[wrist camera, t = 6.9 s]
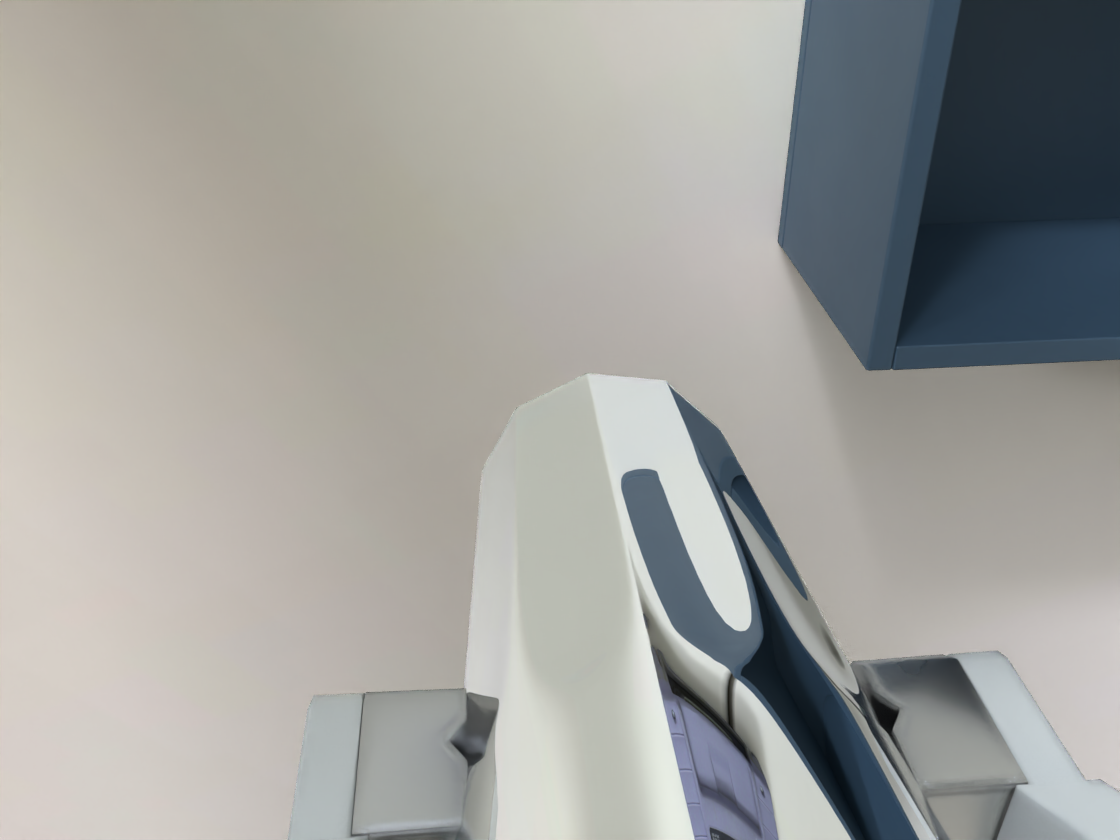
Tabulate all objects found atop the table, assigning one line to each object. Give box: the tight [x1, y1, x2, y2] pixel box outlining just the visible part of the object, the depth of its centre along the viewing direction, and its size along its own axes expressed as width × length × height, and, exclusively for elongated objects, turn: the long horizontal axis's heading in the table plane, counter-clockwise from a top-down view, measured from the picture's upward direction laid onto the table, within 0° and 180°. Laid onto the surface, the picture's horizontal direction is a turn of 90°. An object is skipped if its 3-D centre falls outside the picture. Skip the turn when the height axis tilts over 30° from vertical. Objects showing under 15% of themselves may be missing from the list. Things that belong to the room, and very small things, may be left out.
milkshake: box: [454, 373, 951, 840], centre depth 10 cm, size 4×5×10 cm
